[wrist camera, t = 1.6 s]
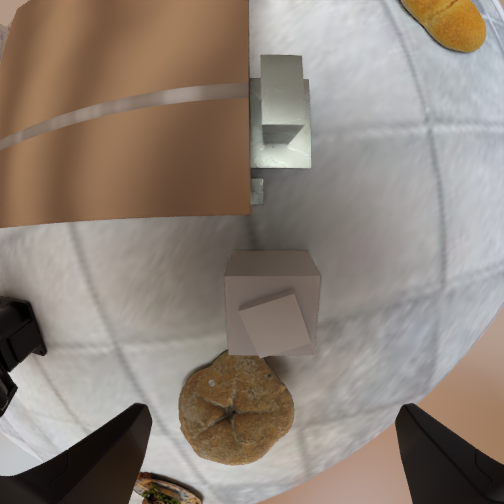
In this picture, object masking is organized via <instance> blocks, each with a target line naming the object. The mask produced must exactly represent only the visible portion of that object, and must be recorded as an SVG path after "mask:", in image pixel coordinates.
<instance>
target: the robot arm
mask: <svg viewBox="0 0 504 504" xmlns="http://www.w3.org/2000/svg"><path fill="white" fill-rule="evenodd" d="M31 353H35V354H38V355H41V356H45V355H46V353H47V352H46V349H45V347H44V344H43V341H42V339H41V336H40V333H39V330H38V327H37V324H36V321H35V318H34V315H33V312H32V308H31V305H30V304H29V302H27V301H22V300H17V299H11V298H6V297H1V296H0V417H2V415H3V414H4V413H5V411H6V409H7V407H8V405H9V404H10V402H11V400H12V398H13V396H14V394H15V393H16V391H17V389H18V387H17V385H16V384H15V383H14V382H13V380H12V379H11V377H10V375H9V374H8V372H11V371H12V370H13V369H14V368H15V367H16V366H17V365H18V364H19V363H21V362H22V361H23V360H24V359H25V358H27V357H28V356H29V355H30V354H31ZM395 426H396V431H397V437H398V443H399V449H400V455H401V460H402V464H403V467H404V471H405V474H406V478H407V482H408V486H409V490H410V494H411V498H412V502H413V504H504V465H503V464H501V463H499V462H497V461H496V460H494V459H492V458H490V457H489V456H487V455H486V454H484V453H483V452H481V451H480V450H478V449H476V448H475V447H474V446H472V445H471V444H469V443H468V442H467V441H465V440H464V439H462V438H461V437H460V436H458V435H457V434H455V433H454V432H453V431H451V430H450V429H448V428H447V427H446V426H444V425H443V424H441V423H440V422H439V421H437V420H436V419H434V418H433V417H431V416H430V415H429V414H427V413H426V412H425V411H423V410H422V409H421V408H419V407H418V406H417V405H415V404H414V403H409V404H404V405H403V406H402V407H401V409H400V411H399V413H398V415H397V417H396V420H395ZM151 427H152V417H151V415H150V412H149V409H148V406H147V405H146V404H142V403H134V404H133V405H131V406H130V407H129V408H127V409H126V410H124V411H123V412H122V413H120V414H119V415H117V416H116V417H115V418H113V419H112V420H110V421H109V422H107V423H106V424H104V425H103V426H102V427H100V428H99V429H97V430H96V431H94V432H93V433H91V434H90V435H88V436H87V437H85V438H84V439H82V440H81V441H79V442H78V443H76V444H75V445H73V446H72V447H70V448H69V449H68V450H65V451H64V452H62V453H61V454H59V455H57V456H56V457H54V458H52V459H51V460H49V461H47V462H45V463H43V464H41V465H38V466H36V467H34V468H32V469H29V470H27V471H25V472H23V473H20V474H17V475H14V476H0V504H128V503H129V500H130V498H131V495H132V492H133V489H134V486H135V483H136V480H137V478H138V475H139V472H140V469H141V466H142V464H143V461H144V457H145V454H146V449H147V445H148V440H149V436H150V431H151Z"/></svg>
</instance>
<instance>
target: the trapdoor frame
mask: <svg viewBox="0 0 504 504" xmlns="http://www.w3.org/2000/svg"><path fill="white" fill-rule="evenodd" d="M250 162H251V168H311V128H310V97H309V79H303V67H302V56H297V55H261V78H250ZM251 205H263V178H258V179H251Z"/></svg>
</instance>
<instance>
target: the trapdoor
mask: <svg viewBox="0 0 504 504" xmlns="http://www.w3.org/2000/svg"><path fill="white" fill-rule="evenodd" d="M250 213H251V162H250V78H249V0H30V1H28V2H27V3H25V4H24V5H22V6H21V7H19V8H18V9H17V11H16V14H15V17H14V19H13V22H12V25H11V28H10V31H9V34H8V38H7V41H6V44H5V48H4V52H3V55H2V59H1V64H0V228H7V227H16V226H27V225H38V224H50V223H62V222H76V221H91V220H107V219H126V218H147V217H174V216H214V215H250Z"/></svg>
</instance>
